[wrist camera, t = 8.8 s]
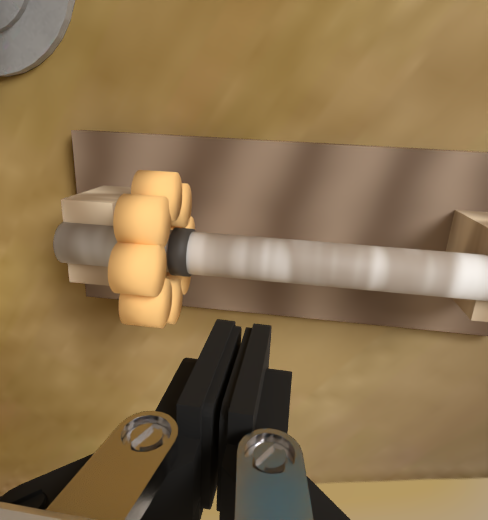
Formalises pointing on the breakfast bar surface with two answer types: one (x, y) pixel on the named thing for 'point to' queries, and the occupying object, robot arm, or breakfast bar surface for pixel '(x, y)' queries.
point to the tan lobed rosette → (149, 248)
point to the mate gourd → (30, 32)
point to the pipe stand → (299, 227)
